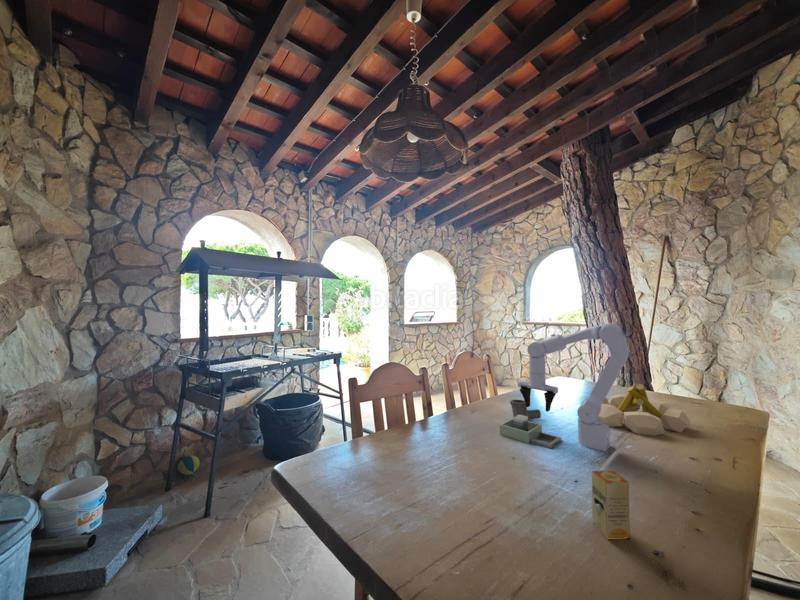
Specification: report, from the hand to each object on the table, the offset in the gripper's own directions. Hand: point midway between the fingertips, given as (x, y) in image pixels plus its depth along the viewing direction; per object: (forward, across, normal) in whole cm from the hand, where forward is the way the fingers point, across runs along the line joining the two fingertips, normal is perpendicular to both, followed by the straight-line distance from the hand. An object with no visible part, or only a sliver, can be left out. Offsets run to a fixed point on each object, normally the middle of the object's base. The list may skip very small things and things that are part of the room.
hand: (537, 408), depth 126 cm
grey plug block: (+10, +4, +6) cm, 12 cm away
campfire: (+11, -22, -45) cm, 51 cm away
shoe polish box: (+10, -34, +42) cm, 55 cm away
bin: (+10, +4, +6) cm, 12 cm away
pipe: (+10, +12, -14) cm, 21 cm away
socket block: (+10, -4, +6) cm, 13 cm away
